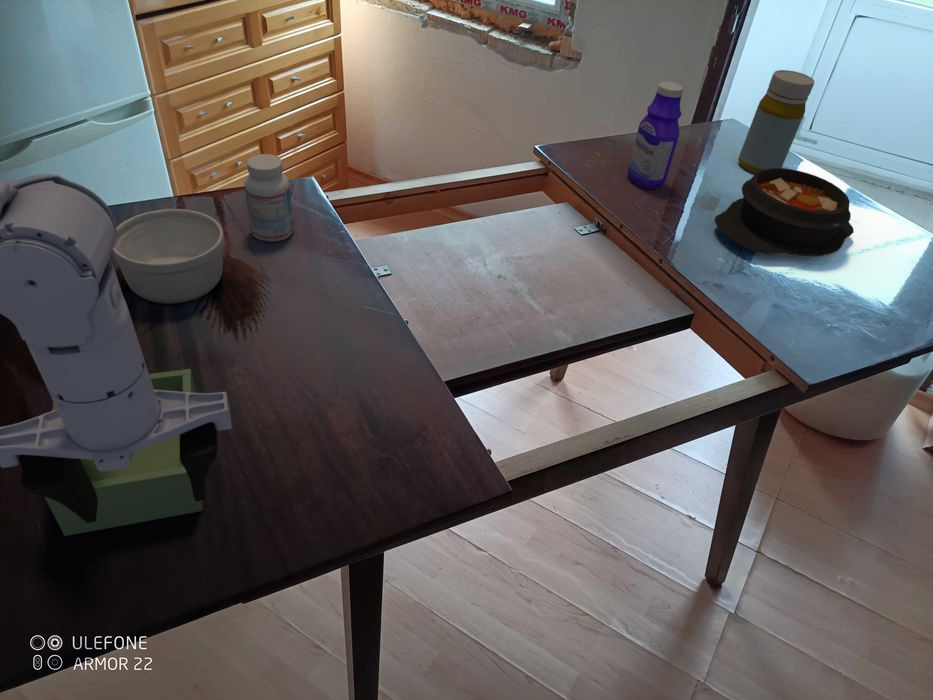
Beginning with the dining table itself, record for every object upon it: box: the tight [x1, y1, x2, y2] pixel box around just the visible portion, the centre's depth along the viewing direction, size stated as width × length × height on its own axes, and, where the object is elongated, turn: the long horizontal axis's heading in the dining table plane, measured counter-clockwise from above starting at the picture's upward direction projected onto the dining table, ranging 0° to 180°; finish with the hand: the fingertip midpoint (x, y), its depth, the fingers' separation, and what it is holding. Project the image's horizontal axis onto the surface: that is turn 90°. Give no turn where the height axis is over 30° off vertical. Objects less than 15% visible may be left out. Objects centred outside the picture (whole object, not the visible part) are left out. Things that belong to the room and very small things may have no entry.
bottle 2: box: [737, 69, 815, 175], centre depth 128 cm, size 8×8×17 cm
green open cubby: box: [44, 368, 204, 537], centre depth 65 cm, size 12×14×6 cm
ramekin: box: [111, 208, 225, 305], centre depth 88 cm, size 13×13×7 cm
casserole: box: [714, 168, 854, 257], centre depth 111 cm, size 25×19×8 cm
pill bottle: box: [244, 153, 294, 243], centre depth 97 cm, size 6×6×11 cm
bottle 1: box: [627, 81, 684, 190], centre depth 119 cm, size 7×6×17 cm
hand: (147, 500), depth 52 cm, fingers open, 7 cm apart
